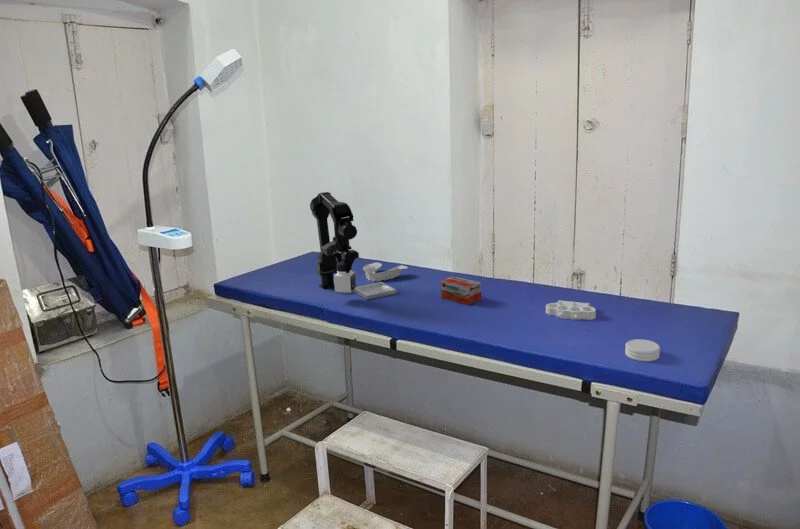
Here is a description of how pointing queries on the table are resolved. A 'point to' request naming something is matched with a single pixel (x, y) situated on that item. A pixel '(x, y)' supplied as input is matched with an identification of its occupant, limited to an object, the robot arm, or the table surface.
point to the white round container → (642, 350)
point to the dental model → (372, 275)
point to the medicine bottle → (344, 279)
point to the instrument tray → (374, 290)
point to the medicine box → (461, 290)
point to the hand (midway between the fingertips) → (344, 271)
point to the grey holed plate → (571, 310)
